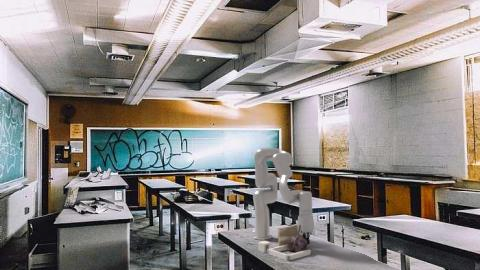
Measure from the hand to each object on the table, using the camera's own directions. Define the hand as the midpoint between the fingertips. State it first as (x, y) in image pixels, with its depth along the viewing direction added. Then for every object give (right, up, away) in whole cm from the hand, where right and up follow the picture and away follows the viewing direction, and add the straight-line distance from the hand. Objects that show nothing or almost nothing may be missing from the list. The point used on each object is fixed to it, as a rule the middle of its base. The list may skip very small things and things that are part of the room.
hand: (306, 243), depth 223 cm
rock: (-5, -3, -4) cm, 8 cm away
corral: (-11, -3, -8) cm, 14 cm away
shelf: (-8, -4, +8) cm, 12 cm away
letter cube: (-25, -4, -1) cm, 25 cm away
